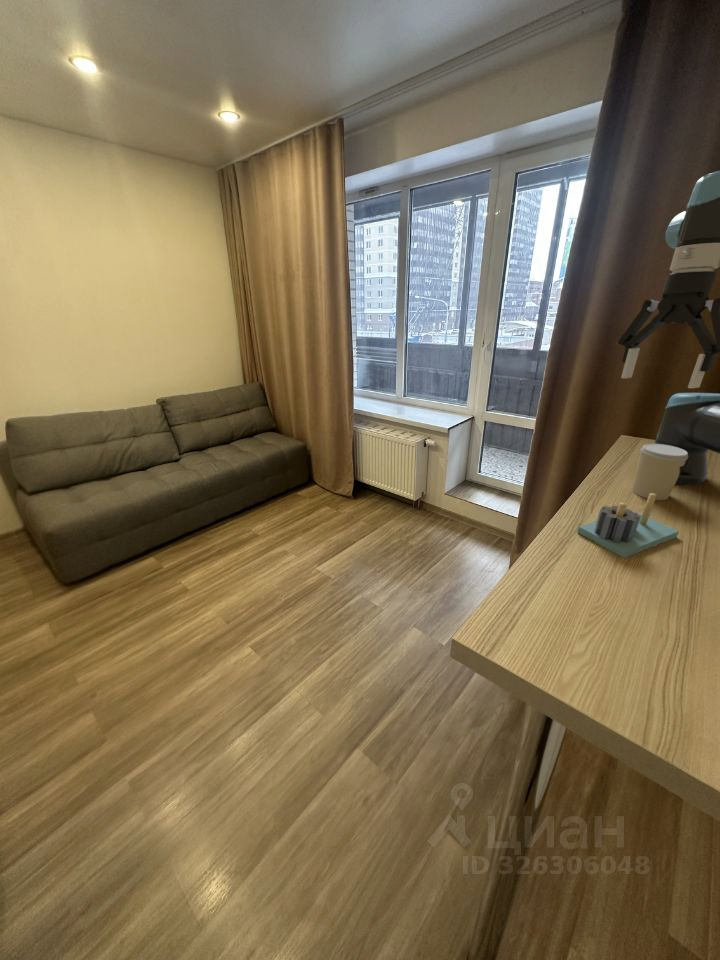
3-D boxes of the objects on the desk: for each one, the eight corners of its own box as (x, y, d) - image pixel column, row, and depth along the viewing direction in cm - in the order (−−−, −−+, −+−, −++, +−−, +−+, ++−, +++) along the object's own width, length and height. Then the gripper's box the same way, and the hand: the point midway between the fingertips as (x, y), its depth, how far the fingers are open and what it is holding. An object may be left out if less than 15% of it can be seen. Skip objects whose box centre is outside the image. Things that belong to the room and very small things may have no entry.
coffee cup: (680, 503, 92) (698, 457, 87) (637, 499, 93) (653, 454, 88) (660, 486, 100) (676, 444, 95) (621, 484, 102) (635, 442, 97)
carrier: (628, 515, 86) (639, 482, 83) (676, 537, 78) (691, 501, 74) (577, 532, 80) (586, 497, 76) (623, 558, 72) (637, 519, 68)
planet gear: (607, 523, 80) (614, 503, 78) (638, 538, 75) (646, 517, 73) (587, 530, 78) (593, 509, 76) (617, 546, 73) (624, 524, 71)
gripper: (616, 276, 82) (592, 375, 91) (766, 264, 61) (716, 394, 70) (638, 277, 85) (613, 373, 94) (788, 265, 64) (738, 390, 73)
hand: (657, 382), depth 82 cm, fingers open, 13 cm apart
